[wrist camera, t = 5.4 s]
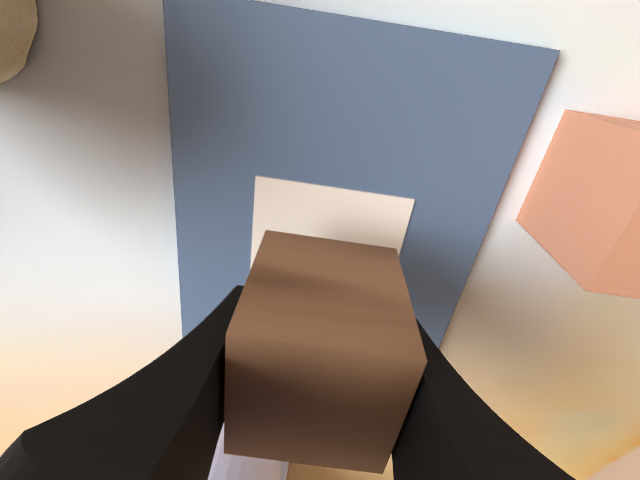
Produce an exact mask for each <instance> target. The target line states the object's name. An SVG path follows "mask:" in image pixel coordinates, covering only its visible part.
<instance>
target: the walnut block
mask: <svg viewBox="0 0 640 480" xmlns="http://www.w3.org/2000/svg"><path fill="white" fill-rule="evenodd" d="M426 364H427V358H426V354H425V351H424V347H423V343H422V340H421V336H420V333H419V329H418V325H417V322H416V318H415V314H414V311H413V307H412V303H411V300H410V296H409V293H408V289H407V285H406V282H405V278H404V274H403V271H402V267H401V264H400V260H399V256H398V253H397V249H396V248H389V247H382V246H375V245H368V244H361V243H354V242H347V241H340V240H333V239H326V238H319V237H312V236H305V235H298V234H291V233H284V232H278V231H271V230H266V231H265V233H264V236H263V238H262V241H261V244H260V246H259V249H258V251H257V254H256V257H255V259H254V262H253V264H252V267H251V270H250V272H249V275H248V277H247V280H246V283H245V285H244V288H243V290H242V293H241V295H240V298H239V301H238V303H237V306H236V308H235V311H234V314H233V316H232V319H231V321H230V324H229V327H228V329H227V332H226V340H225V401H224V454H229V455H237V456H245V457H253V458H261V459H269V460H277V461H285V462H292V463H300V464H308V465H316V466H324V467H332V468H340V469H348V470H355V471H363V472H371V473H379V474H383V472H384V470H385V467H386V465H387V462H388V460H389V457H390V455H391V452H392V450H393V447H394V445H395V442H396V440H397V437H398V435H399V432H400V429H401V427H402V424H403V422H404V419H405V417H406V414H407V412H408V409H409V407H410V404H411V402H412V399H413V397H414V394H415V392H416V389H417V387H418V384H419V382H420V379H421V377H422V374H423V372H424V369H425V367H426Z"/></svg>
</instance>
